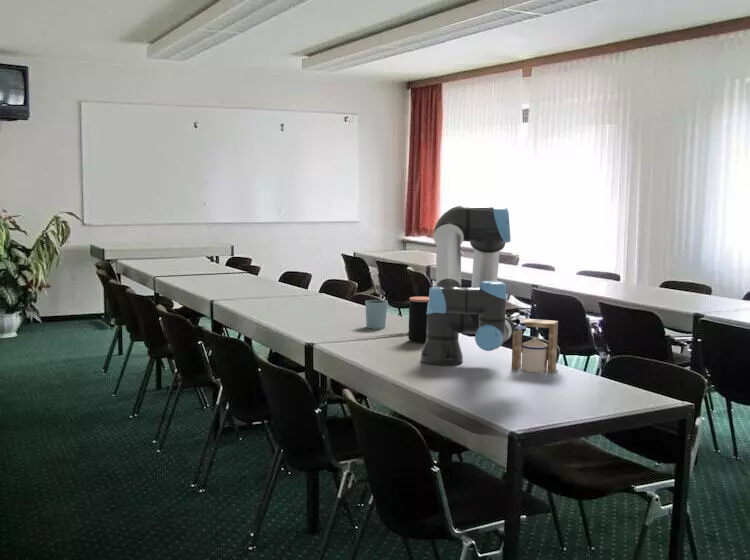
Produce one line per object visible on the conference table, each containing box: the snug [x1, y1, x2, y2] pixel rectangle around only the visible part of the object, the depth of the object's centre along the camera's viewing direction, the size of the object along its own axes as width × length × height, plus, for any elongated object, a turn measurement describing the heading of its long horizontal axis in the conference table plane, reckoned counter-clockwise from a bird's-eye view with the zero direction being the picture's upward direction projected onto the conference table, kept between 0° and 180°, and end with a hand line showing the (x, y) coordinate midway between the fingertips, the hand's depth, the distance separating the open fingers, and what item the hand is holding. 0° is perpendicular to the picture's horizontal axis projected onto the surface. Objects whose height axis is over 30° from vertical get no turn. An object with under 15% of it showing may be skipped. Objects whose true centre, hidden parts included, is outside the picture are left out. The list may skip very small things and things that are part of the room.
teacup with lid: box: [521, 336, 549, 374], centre depth 278 cm, size 12×9×12 cm
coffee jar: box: [407, 296, 429, 344], centre depth 327 cm, size 11×11×18 cm
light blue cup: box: [364, 299, 388, 330], centre depth 360 cm, size 10×10×12 cm
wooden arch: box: [511, 317, 559, 374], centre depth 278 cm, size 14×8×17 cm, turn 67°
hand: (517, 316), depth 259 cm, fingers closed
